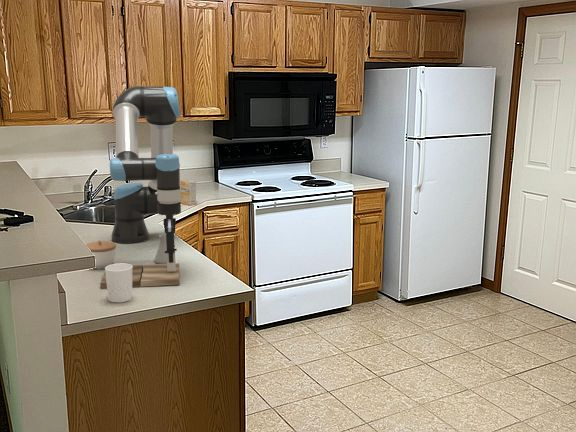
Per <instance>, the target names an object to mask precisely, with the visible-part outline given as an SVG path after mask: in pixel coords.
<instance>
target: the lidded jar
mask: <svg viewBox="0 0 576 432" xmlns="http://www.w3.org/2000/svg"><path fill="white" fill-rule="evenodd" d="M85 245H86V246H87V247H88V248H89V249H90V250H91V252H92V253H93V254H94V255H95V259H96V268H97V269H98V270H101V269H102V268H103V269H105V267H106V266H108V265H111V264H114V261H115V260H116V256H117V255H116V252H117V251H116V249H117V244H116V242H113V241H112V242H111V241H102V240H98V241H95V242H89V243H86V244H85ZM97 269H96V270H97Z"/></svg>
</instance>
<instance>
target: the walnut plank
mask: <svg viewBox="0 0 576 432" xmlns="http://www.w3.org/2000/svg"><path fill="white" fill-rule="evenodd" d="M131 265H132V266H133V271H132V289H133V288H140V287H141V277H142V273H143V268H144V265H143V264H134V265H133V264H131ZM99 286H100V287H99V288H100V289H101V290H105V289H106V290H107V283H106V273H105V272H104V274H103V276H102V277H101V280H100V282H99Z"/></svg>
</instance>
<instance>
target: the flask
mask: <svg viewBox="0 0 576 432" xmlns="http://www.w3.org/2000/svg"><path fill="white" fill-rule="evenodd" d="M158 238H159V245H158V249H157V251H156V254H155V257H154V260H153V262H154V263H155V264H167V253H165V251H166V250H167V244H166V233H164V234H159V235H158Z"/></svg>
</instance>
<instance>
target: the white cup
mask: <svg viewBox="0 0 576 432" xmlns="http://www.w3.org/2000/svg"><path fill="white" fill-rule="evenodd" d="M132 265H133V264H129V263H126V262H125V263H123V262H121V263H120V262H119V263H118V262H117V263H112V264H111V265H108V266H106V267H105V268H104V273H106V283H107V289H106V290H107V293H108V294H107V296H108V301H109V302H111V303H127V302H129V301H130V300H132V298H133V293H132V292H133V288H132V271H133V266H132Z"/></svg>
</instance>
